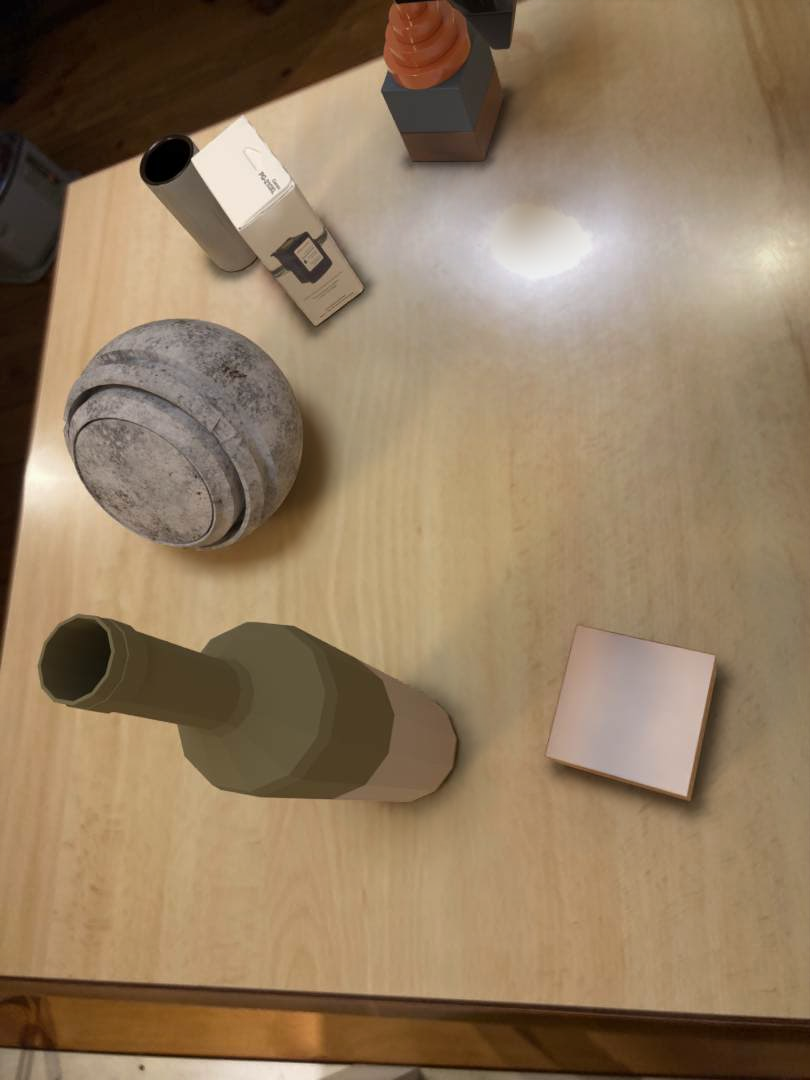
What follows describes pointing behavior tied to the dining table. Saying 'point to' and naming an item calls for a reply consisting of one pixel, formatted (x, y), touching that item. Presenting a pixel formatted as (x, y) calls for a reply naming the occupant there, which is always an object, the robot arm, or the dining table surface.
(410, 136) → the base block
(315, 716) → the bottle
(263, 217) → the ink box
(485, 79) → the top block
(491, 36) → the robot arm
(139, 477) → the decorative orb
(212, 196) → the planter
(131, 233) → the dining table surface
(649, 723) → the stand
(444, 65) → the cone
